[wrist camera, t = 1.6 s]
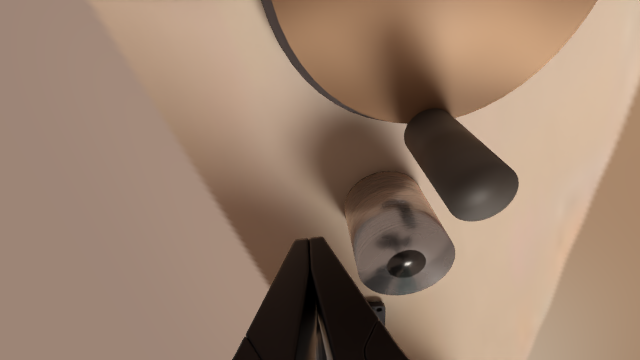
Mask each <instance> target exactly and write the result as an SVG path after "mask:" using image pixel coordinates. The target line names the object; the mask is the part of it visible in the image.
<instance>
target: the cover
mask: <svg viewBox="0 0 640 360" xmlns="http://www.w3.org/2000/svg"><path fill="white" fill-rule="evenodd" d="M344 210H345V216H346V220H347V225H348V229H349V234H350V238H351V243H352V247H353V252H354V256H355V261H356V265H357V270H358V274H359V277H360V279H361V281H362V282H363V284H364V285H365V286H367V287H368V288H369V289H371V290H373V291H375V292H378V293H381V294H386V295H405V294H411V293H415V292H418V291H421V290H423V289H426V288H428V287H430V286H432V285H433V284H435V283H436V282H438V281H439V280H440V279H441V278H443V277H444V276H445V275H446V273H447V272H448V271H449V270H450V268H451V266H452V264H453V262H454V259H455V248H454V245H453V243H452V241H451V239H450V238H449V236H448V234H447V233H446V231H445V229H444V228H443V226H442V224H441V223H440V221H439V219H438V218H437V216H436V214H435V213H434V211H433V209H432V208H431V206H430V204H429V203H428V201H427V199H426V198H425V196H424V194H423V193H422V191H421V189H420V188H419V186H418V184H417V183H416V182H415V181H414V180H413V179H412V178H411V177H409V176H407V175H405V174H402V173H399V172H391V171H387V172H379V173H375V174H372V175H370V176H367V177H366V178H364V179H362V180H361V181H359V182H358V183H357V184H356V185H355V186H354V187H353V188H352V189H351V190H350V192H349V193H348V195H347V197H346V200H345V205H344Z"/></svg>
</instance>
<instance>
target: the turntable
mask: <svg viewBox="0 0 640 360" xmlns="http://www.w3.org/2000/svg"><path fill="white" fill-rule="evenodd" d="M596 2H597V0H272V3H273V6H274V9H275V12H276V15H277V18H278V21H279V24H280V26H281V28H282V31H283V33H284V35H285V37H286V39H287V41H288V43H289V45H290V47H291V49H292V50H293V52H294V53H295V55H296V57H297V58H298V60H299V61H300V63H301V65H302V66H303V67H304V68H305V69H306V71H307V72H308V73H309V74H310V75H311V77H312V78H313V79H314V80H315V81H316V82H317V83H318V84H319V85H320V86H321V87H322V88H323V89H324V90H325V91H326V92H328V93H329V94H330V95H331V96H333V97H334V98H336V99H337V100H338V101H340V102H341V103H343V104H344V105H346V106H348V107H350V108H352V109H354V110H355V111H357V112H359V113H362V114H364V115H367V116H370V117H373V118H376V119H379V120H384V121H389V122H394V123H407V124H408V125H407V127H406V129H405V133H404V141H405V144H406V146H407V148H408V149H409V151H410V152H411V154H412V155H413V157H414V158H415V160H416V161H417V163H418V164H419V166H420V167H421V169H422V170H423V172H424V173H425V175H426V176H427V178H428V179H429V181H430V182H431V184H432V185H433V187H434V188H435V190H436V191H437V193H438V194H439V196H440V197H441V199H442V200H443V202H444V203H445V205H446V206H447V208H448V209H449V211H450V212H451V213H452V215H453V216H455V217H456V218H458V219H460V220H464V221H480V220H484V219H487V218H490V217H492V216H494V215H496V214H497V213H499V212H500V211H502V210H503V209H504V208H506V207H507V206H508V205H509V203H510V202H511V201H512V200H513V198H514V197H515V195H516V193H517V190H518V184H519V182H518V177H517V175H516V173H515V172H514V170H512V169H511V168H510V167H509V166H508V165H507V164H506V163H504V162H503V161H502V160H501V159H500V158H499V157H498V156H497V155H495V154H494V153H493V152H492V151H491V150H490V149H489V148H488V147H486V146H485V145H484V144H483V143H482V142H481V141H480V140H478V139H477V138H476V137H475V136H474V135H473V134H472V133H471V132H469V131H468V130H467V129H466V128H465V127H464V126H463V125H461V124H460V123H459V122H458V121H457V120H456V119H455V118H456V117H459V116H463V115H466V114H469V113H471V112H474V111H476V110H478V109H481V108H483V107H485V106H487V105H489V104H491V103H493V102H495V101H497V100H498V99H500V98H502V97H504V96H505V95H507V94H508V93H510V92H511V91H513V90H514V89H516V88H517V87H519V86H520V85H522V84H523V83H524V82H525V81H527V80H528V79H529V78H530V77H532V76H533V75H534V74H535V73H537V72H538V71H539V70H540V69H541V68H542V67H543V66H544V65H545V64H546V63H547V62H548V61H549V60H550V59H552V58H553V57H554V56H555V55H556V54H557V53H558V52H559V50H560V49H561V48H562V47H563V46H564V45H565V43H566V42H567V41H568V40H569V39H570V38H571V37H572V35H573V34H574V33H575V32H576V30H577V29H578V28H579V26H580V25H581V24H582V22H583V21H584V20H585V18H586V17H587V15H588V14H589V13H590V11H591V10H592V8H593V6H594V5H595V3H596Z"/></svg>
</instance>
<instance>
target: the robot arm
mask: <svg viewBox="0 0 640 360" xmlns="http://www.w3.org/2000/svg"><path fill="white" fill-rule="evenodd" d="M316 307H317V309H316ZM232 360H410V359H409V358H408V357H407V356H406V355H405V353H404V352H403V351H402V350H401V349H400V347H399V346H398V345H397V343H396V342H395V340H394V339H393V338H392V336H391V335H390V334H389V332H388V331H387V329H386V328H385V306H384V303H383V302H372V303H368V302H367V300H366V299H365V298H364V296H363V295H362V293H361V292H360V290H359V289H358V287H357V286H356V284H355V283H354V282H353V280H352V279H351V277H350V276H349V274H348V273H347V271H346V270H345V268H344V267H343V266H342V264H341V263H340V261H339V260H338V258H337V257H336V255H335V254H334V252H333V251H332V249H331V248H330V247H329V245H328V244H327V242H326V241H325V239H324V238H323V237H313V238H310V239H307V238H305V239H297V240H295V241H294V243H293V245H292V247H291V249H290V250H289V252H288V254H287V256H286V258H285V260H284V262H283V264H282V266H281V268H280V270H279V272H278V274H277V275H276V277H275V279H274V281H273V283H272V285H271V287H270V289H269V291H268V293H267V295H266V297H265V299H264V300H263V302H262V304H261V306H260V308H259V310H258V312H257V314H256V316H255V318H254V320H253V322H252V324H251V325H250V327H249V329H248V331H247V333H246V337H244V339H243V340H242V342H241V344H240V346H239V348H238V350H237V352H236V354H235V356H234V357H233V359H232Z"/></svg>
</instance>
